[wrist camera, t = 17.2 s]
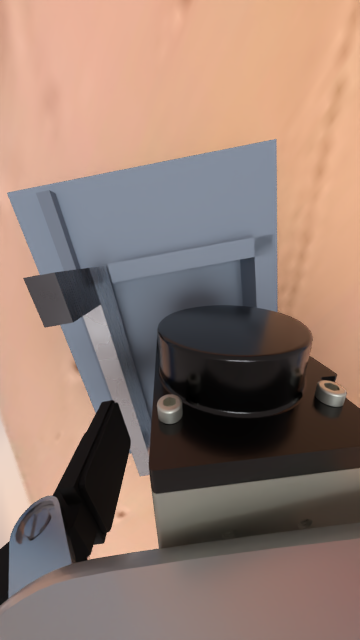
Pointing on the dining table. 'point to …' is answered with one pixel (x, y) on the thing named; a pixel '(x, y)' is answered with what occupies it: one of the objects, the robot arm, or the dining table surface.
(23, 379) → the dining table surface
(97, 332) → the gate
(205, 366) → the pneumatic valve
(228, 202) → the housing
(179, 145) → the dining table surface
